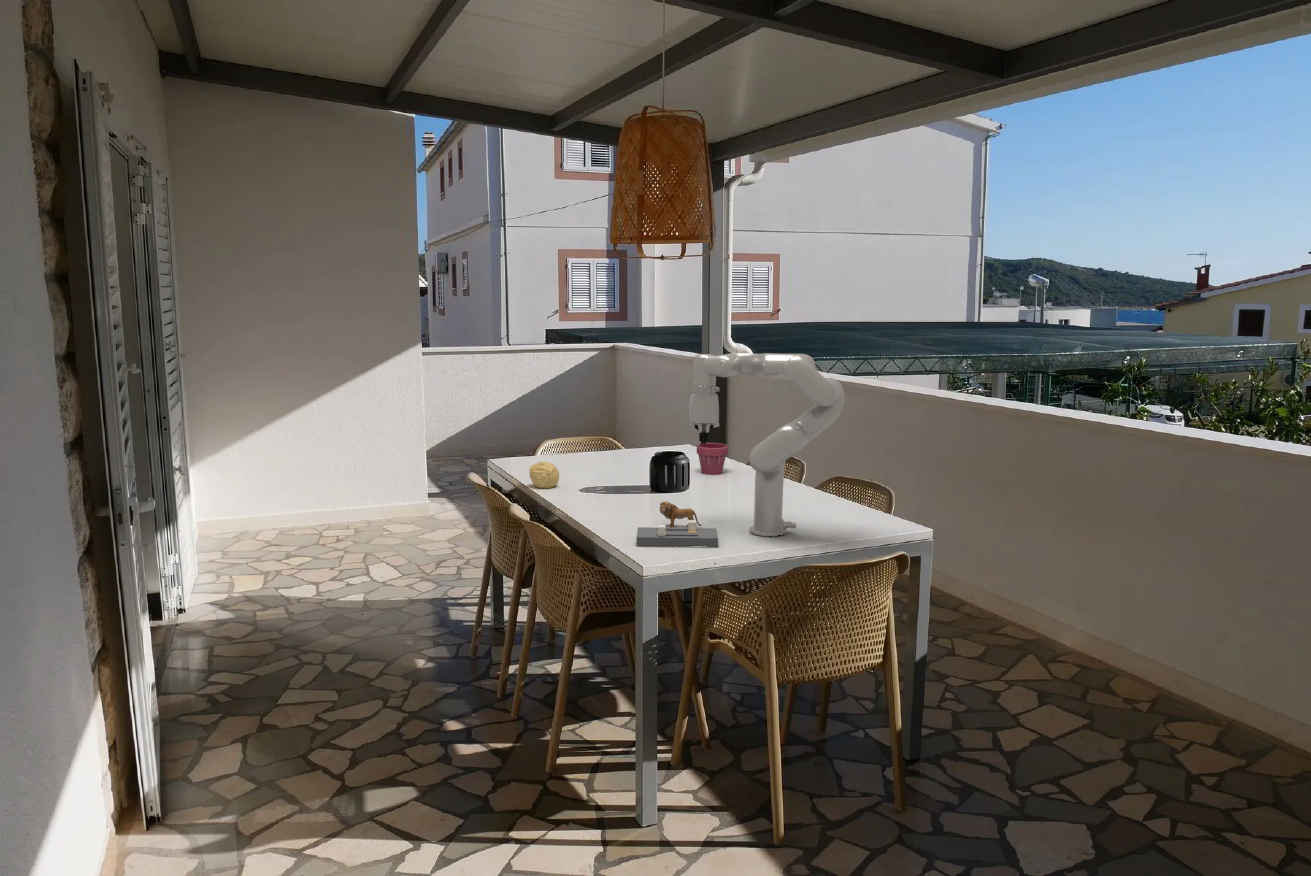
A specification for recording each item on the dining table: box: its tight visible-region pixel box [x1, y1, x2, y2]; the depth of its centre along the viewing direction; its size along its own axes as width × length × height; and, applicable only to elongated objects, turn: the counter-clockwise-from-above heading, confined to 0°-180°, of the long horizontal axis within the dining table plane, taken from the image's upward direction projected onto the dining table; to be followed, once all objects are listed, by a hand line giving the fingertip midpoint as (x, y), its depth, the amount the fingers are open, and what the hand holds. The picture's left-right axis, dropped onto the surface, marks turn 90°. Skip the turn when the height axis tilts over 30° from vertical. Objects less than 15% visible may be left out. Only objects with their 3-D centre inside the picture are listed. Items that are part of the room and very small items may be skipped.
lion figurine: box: [659, 500, 703, 528], centre depth 329 cm, size 15×5×9 cm, turn 88°
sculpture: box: [528, 461, 560, 489], centre depth 394 cm, size 12×12×11 cm
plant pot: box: [696, 442, 729, 476], centre depth 428 cm, size 14×14×13 cm
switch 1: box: [657, 524, 667, 536], centre depth 306 cm, size 2×3×4 cm
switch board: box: [636, 526, 719, 548], centre depth 309 cm, size 26×13×3 cm, turn 89°
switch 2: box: [687, 519, 697, 531], centre depth 312 cm, size 2×3×4 cm
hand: (703, 443), depth 326 cm, fingers closed
